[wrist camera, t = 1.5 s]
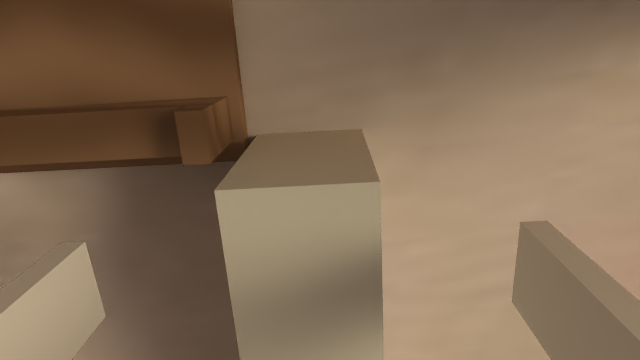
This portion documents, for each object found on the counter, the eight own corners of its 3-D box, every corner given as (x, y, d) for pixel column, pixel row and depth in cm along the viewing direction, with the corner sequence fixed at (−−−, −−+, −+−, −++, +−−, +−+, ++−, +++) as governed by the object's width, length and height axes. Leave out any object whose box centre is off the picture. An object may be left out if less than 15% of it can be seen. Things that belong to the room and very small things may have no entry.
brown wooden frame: (249, 155, 20) (226, 188, 16) (11, 168, 21) (-78, 204, 16) (208, -198, 16) (159, -293, 11) (-92, -171, 16) (-254, -253, 12)
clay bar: (370, 392, 25) (387, 544, 17) (287, 394, 25) (268, 546, 18) (361, 128, 20) (380, 181, 12) (257, 134, 20) (214, 190, 13)
